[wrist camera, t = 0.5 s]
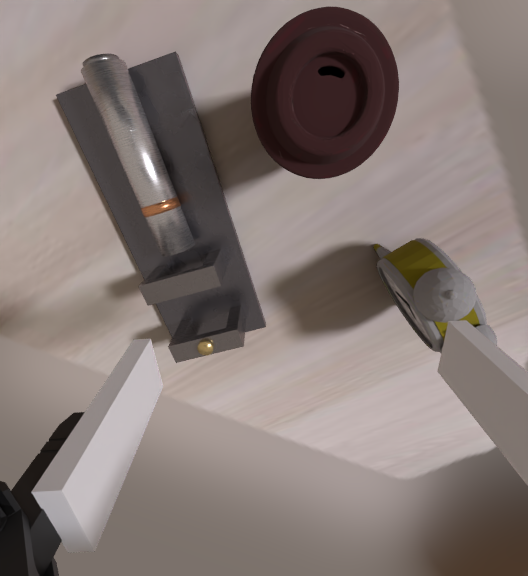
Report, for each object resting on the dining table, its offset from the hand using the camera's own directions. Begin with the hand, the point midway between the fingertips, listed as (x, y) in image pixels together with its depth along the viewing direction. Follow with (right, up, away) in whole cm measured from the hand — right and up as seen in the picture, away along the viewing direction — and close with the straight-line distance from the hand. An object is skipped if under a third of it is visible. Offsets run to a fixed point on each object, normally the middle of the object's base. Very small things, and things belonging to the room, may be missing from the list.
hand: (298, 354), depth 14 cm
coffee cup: (+3, +21, +19) cm, 29 cm away
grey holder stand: (-12, +11, +23) cm, 28 cm away
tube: (-14, +16, +20) cm, 29 cm away
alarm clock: (+17, +6, +26) cm, 31 cm away
